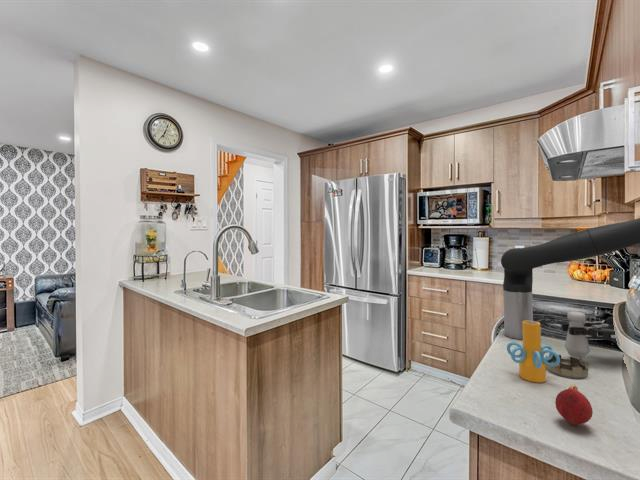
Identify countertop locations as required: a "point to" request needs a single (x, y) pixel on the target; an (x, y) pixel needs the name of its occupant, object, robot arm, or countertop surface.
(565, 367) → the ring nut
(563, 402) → the red oval fruit
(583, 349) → the salt shaker
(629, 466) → the countertop surface
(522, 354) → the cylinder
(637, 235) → the robot arm
